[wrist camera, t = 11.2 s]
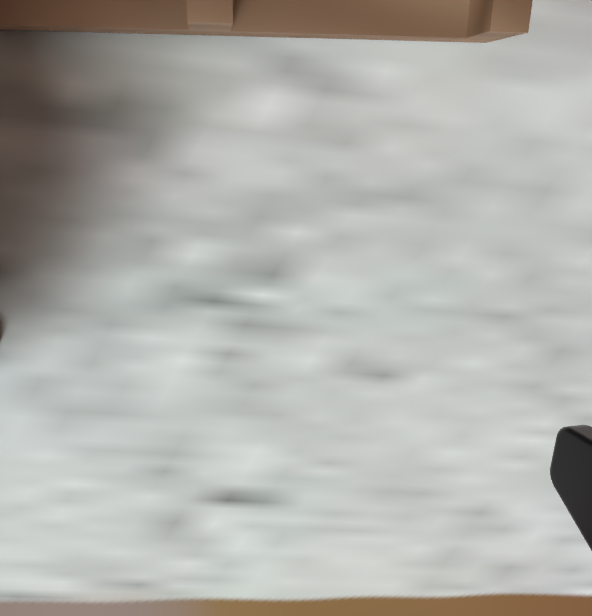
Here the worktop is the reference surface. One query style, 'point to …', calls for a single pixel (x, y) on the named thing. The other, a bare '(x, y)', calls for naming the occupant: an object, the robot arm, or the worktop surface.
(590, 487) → the robot arm
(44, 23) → the brown ridged slab
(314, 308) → the worktop surface
